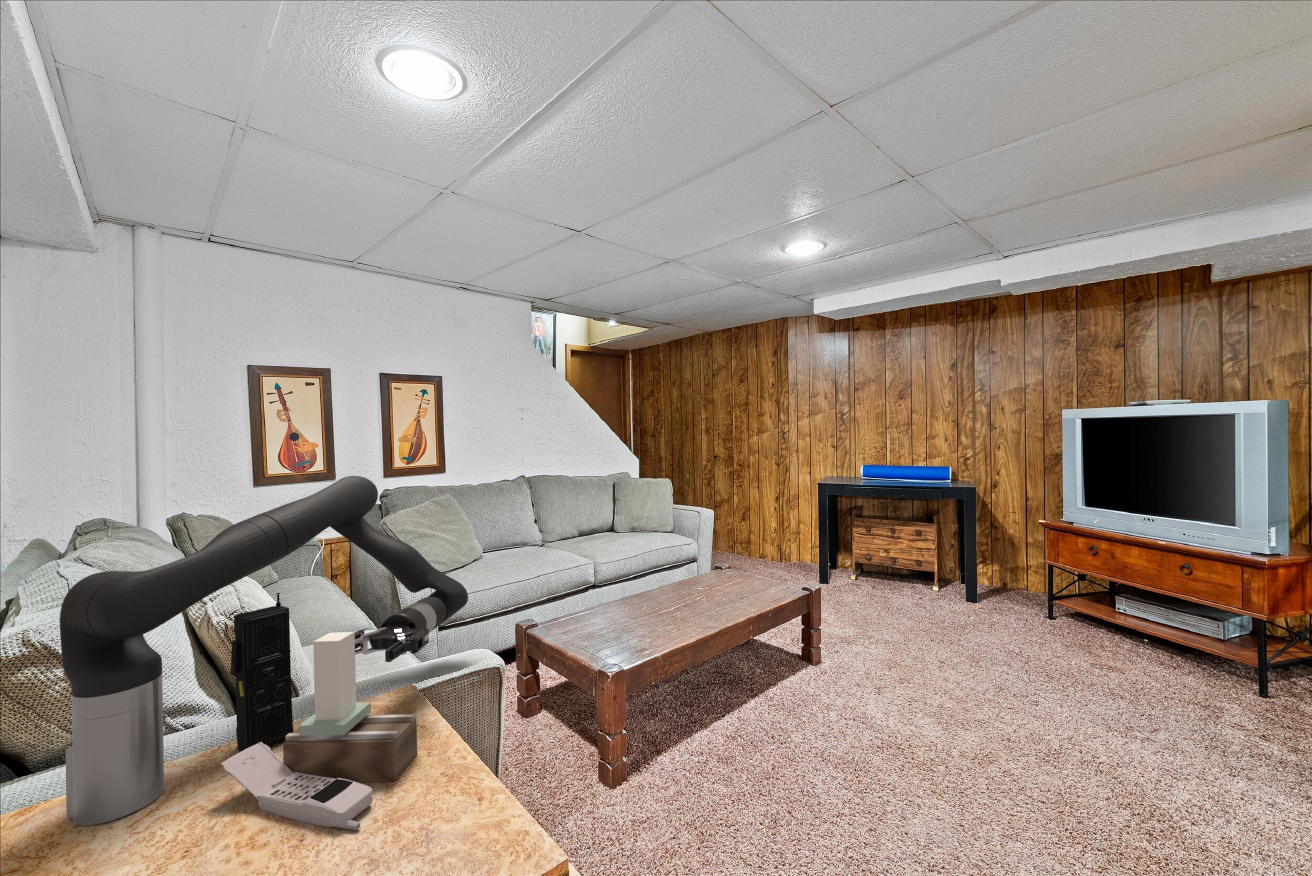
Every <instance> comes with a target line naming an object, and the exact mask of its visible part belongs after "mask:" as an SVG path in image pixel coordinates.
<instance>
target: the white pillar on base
mask: <svg viewBox="0 0 1312 876" xmlns="http://www.w3.org/2000/svg"><path fill="white" fill-rule="evenodd" d="M355 633H356V632H355V631H339V632H337V631H336V632H335V631H334V632H328V633H327V634H325V635H323V636H321V637H319V638H318V639H315V640H313V641H312V643H313V679H314V680H313V682H314V685H313V686H314V714H312V715H311V716H310V717H308V718H307V719H305V720H304V721H303V722H302V723H300V724H299V725H298V732H299V736H313V735H345V734H346V733H347V732H348V731H349V730H351V729H352V728H353V727H354V726H355V725H356V724H357V723H359V722H360V721H361V720H362V719H363V718H364V717H365V716H367V715H370V713H371V712H372V704H371V703H372V702H357V682H356V681H357V679H356V678H357V677H356V655H355V650H356V649H355Z"/></svg>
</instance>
